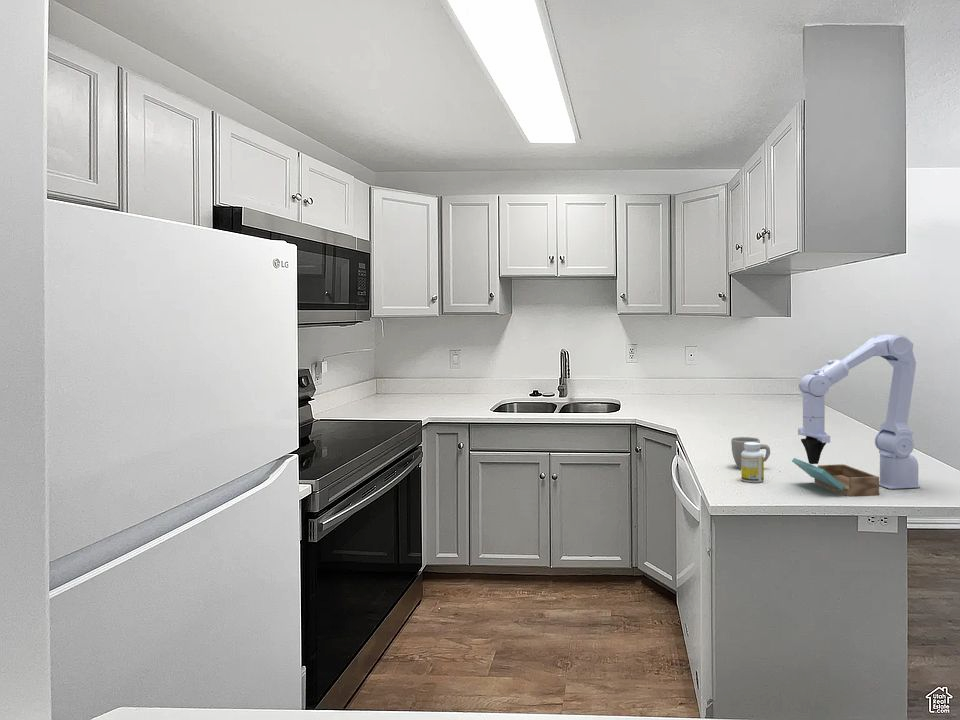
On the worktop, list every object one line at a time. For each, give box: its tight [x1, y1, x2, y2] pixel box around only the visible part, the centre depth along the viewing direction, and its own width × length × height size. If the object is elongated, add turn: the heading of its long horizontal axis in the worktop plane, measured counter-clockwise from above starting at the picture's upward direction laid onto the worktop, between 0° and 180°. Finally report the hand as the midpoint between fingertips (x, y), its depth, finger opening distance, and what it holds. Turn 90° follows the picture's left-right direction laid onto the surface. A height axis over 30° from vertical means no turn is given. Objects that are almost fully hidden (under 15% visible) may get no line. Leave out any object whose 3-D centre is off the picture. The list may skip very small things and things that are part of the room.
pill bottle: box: [740, 442, 765, 484], centre depth 230 cm, size 6×6×12 cm
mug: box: [730, 436, 771, 470], centre depth 248 cm, size 12×9×10 cm
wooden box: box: [814, 463, 880, 497], centre depth 218 cm, size 9×18×5 cm, turn 4°
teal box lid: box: [791, 457, 846, 490], centre depth 217 cm, size 1×17×8 cm
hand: (813, 463), depth 217 cm, fingers closed
